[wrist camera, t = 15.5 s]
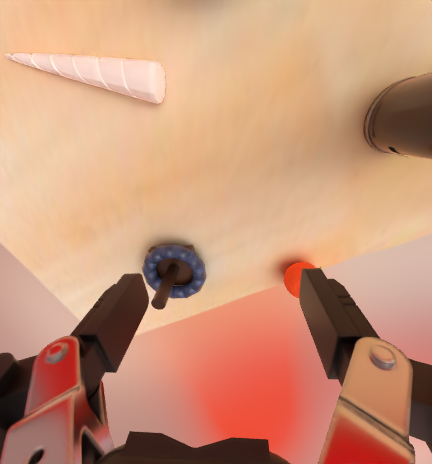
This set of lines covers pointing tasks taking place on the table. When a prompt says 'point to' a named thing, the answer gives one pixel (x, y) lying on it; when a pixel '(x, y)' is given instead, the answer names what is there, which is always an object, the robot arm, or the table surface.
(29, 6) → the table surface
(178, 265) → the peg stand
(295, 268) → the clementine
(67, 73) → the unicorn horn
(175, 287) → the ring
